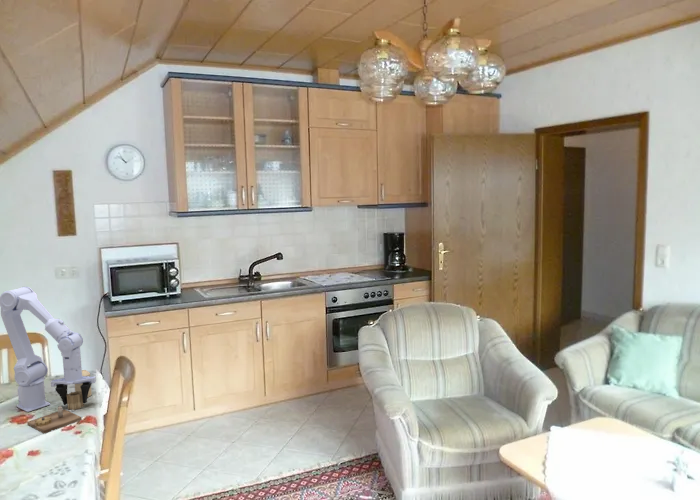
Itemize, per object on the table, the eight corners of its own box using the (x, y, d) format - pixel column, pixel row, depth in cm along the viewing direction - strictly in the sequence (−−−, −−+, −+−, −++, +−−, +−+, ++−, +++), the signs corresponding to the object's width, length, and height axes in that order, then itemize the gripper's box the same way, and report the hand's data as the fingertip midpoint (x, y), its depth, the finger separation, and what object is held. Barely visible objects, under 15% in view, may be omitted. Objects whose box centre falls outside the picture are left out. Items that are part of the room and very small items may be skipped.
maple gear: (64, 407, 183) (63, 394, 182) (79, 403, 187) (78, 390, 187) (72, 411, 180) (70, 397, 180) (86, 406, 184) (85, 392, 184)
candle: (84, 399, 191) (82, 373, 190) (72, 398, 192) (70, 373, 191) (94, 393, 196) (93, 368, 195) (82, 393, 197) (80, 368, 196)
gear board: (27, 424, 170) (26, 411, 169) (64, 412, 179) (63, 398, 179) (44, 433, 163) (43, 419, 162) (81, 419, 173) (80, 406, 172)
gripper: (46, 372, 177) (49, 409, 178) (90, 369, 179) (93, 405, 181) (54, 366, 184) (57, 401, 185) (96, 362, 186) (99, 398, 188)
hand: (75, 403), depth 183 cm, fingers open, 6 cm apart
